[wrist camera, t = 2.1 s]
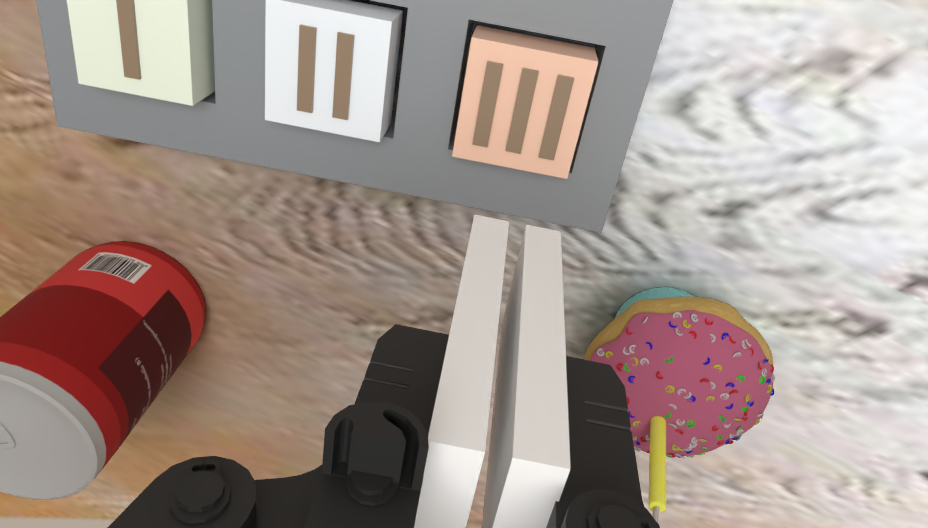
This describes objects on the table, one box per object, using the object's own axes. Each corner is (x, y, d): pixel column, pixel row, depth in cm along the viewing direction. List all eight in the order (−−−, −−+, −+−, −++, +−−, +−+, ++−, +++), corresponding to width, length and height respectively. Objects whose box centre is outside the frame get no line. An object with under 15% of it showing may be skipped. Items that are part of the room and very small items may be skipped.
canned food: (44, 267, 37) (-128, 403, 27) (149, 213, 34) (-1, 343, 25) (135, 367, 40) (9, 519, 31) (238, 324, 37) (134, 476, 28)
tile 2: (283, 103, 28) (263, 121, 26) (286, -13, 26) (264, -3, 24) (390, 124, 28) (378, 143, 26) (403, 10, 25) (391, 22, 23)
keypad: (100, 104, 31) (57, 126, 29) (68, -140, 26) (13, -141, 24) (596, 201, 31) (601, 232, 29) (663, -25, 26) (677, -13, 23)
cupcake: (614, 403, 37) (640, 604, 27) (549, 289, 34) (551, 469, 24) (769, 354, 35) (862, 557, 24) (715, 224, 31) (798, 396, 21)
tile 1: (109, 69, 28) (76, 84, 26) (96, -49, 26) (57, -43, 24) (216, 90, 28) (190, 106, 26) (212, -27, 26) (184, -18, 24)
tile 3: (458, 137, 28) (451, 157, 26) (477, 24, 25) (471, 38, 23) (565, 158, 28) (567, 180, 26) (594, 47, 25) (598, 62, 23)
